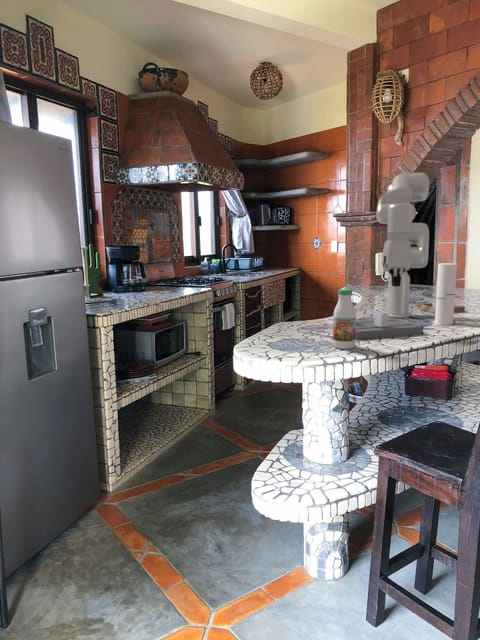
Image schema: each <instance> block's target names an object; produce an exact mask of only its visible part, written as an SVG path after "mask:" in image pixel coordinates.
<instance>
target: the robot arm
mask: <svg viewBox="0 0 480 640" xmlns="http://www.w3.org/2000/svg"><path fill="white" fill-rule="evenodd" d="M429 190H430V179H429V176H428V175H427V174H426V173H425V172H404V173H399V174H397V175H396V176H394V177H393V180H392V183H391V184H389V185H388V186H387V189H386V193H385V194H384V195H382V196H381V197H380V198H379V200H378V202H377V205H376V206H377V207H376V216H375V218H376V221H377V222H378V223H379V224H382V225H383V224H384V225H385V224H386V225H387V236H386V237H387V240H386V241H384V245H383V250H382V254H381V255H382V257H381V267H383V269H382V270H383V272H386V273H387V276H388V277H387V301H386V303H387V304H386V305H385V306H384V309H386V311H384V312H385V313H388V314H389V318H397V319H401V318H402V319H404V318H405V319H406V318H411V317H413V313H412V312H410V290H411V289H410V287H411V285H410V283H411V277H410V275H409V274H408V271H410V269H422V268H426V267H427V265H428V262H429V248H430V247H429V245H430V229H429V226H428V225H427V224H426V223H425V222H424V223H423V222H413V220H414V219H415V218H416V212H417V211H416V208H415V207H414V205H413V204H412V203H410V202H424V201H425V200H426V199H428V196H429V193H430V192H429ZM412 245H416V246H412Z"/></svg>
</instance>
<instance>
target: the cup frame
mask: <svg viewBox="0 0 480 640" xmlns="http://www.w3.org/2000/svg"><path fill="white" fill-rule="evenodd" d="M465 309H466V308H465V306H463V305H460V304H454V314H455V313H465ZM417 310H420V311H424V312H428V313H433V314H435V311H436V308H435V307H433V306H432V302H428V303H417Z"/></svg>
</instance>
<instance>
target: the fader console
mask: <svg viewBox="0 0 480 640" xmlns="http://www.w3.org/2000/svg"><path fill="white" fill-rule="evenodd" d="M418 334H419V335H423V334H424V326H422V325H419V324H417V323H414V322H410V321H406V320H404V319H401V318H394V317H389V323H388V327H379V326H376V325H374V319H362V320H361V319H360V320H356V341H358V339H361V340H371V338H372V339H380V338H381V339H382V337H384V338H394V337H404V335H407V336H416V335H418ZM419 335H418V336H419Z"/></svg>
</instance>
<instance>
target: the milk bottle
mask: <svg viewBox="0 0 480 640" xmlns="http://www.w3.org/2000/svg"><path fill="white" fill-rule="evenodd" d="M352 297H353V290H352V289H350V288H341V289H338V300H337V303H336V306H335V308H334V311H333V316H332V317H333V319H332V320H333V321H332V346H333V348H335V349H340V350H351V349H354V348H355V347H356V346H357V345H356V343H357V340H356V321H357V312H356V308H355V306H354V304H353V300H352Z"/></svg>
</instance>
